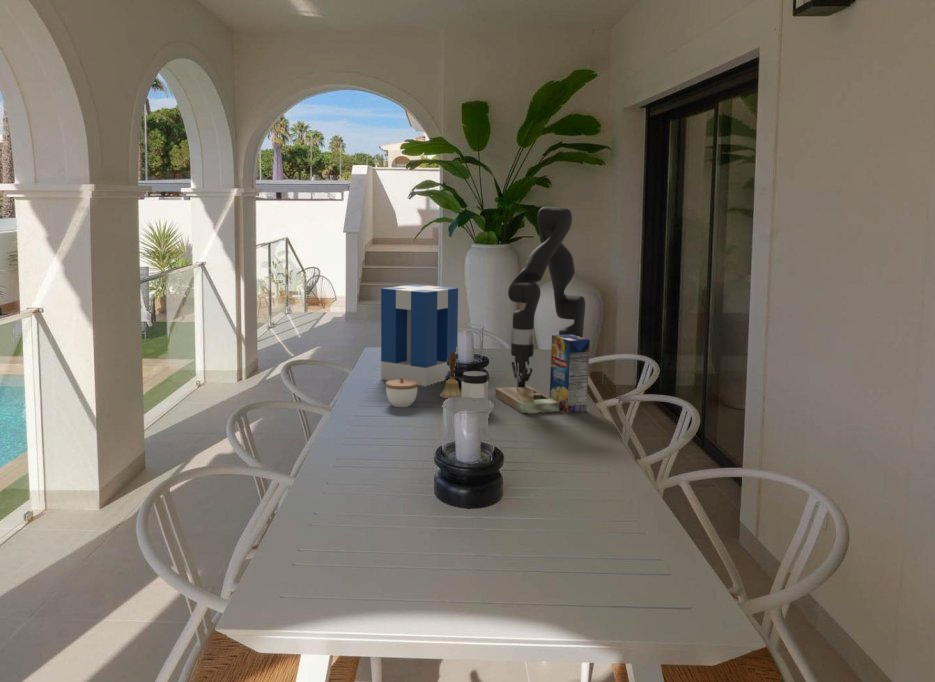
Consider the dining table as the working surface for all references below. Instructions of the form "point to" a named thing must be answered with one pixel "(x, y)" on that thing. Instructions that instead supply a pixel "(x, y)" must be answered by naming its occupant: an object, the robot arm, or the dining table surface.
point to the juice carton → (569, 372)
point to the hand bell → (451, 381)
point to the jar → (475, 384)
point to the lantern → (418, 332)
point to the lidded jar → (401, 392)
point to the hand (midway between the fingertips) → (520, 392)
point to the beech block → (525, 394)
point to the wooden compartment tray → (537, 405)
